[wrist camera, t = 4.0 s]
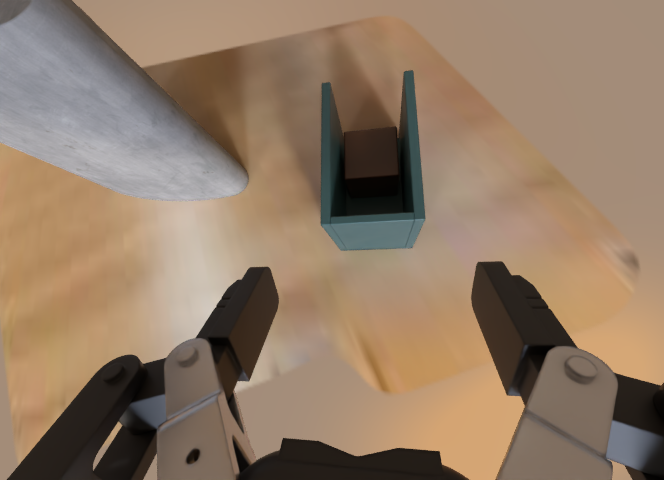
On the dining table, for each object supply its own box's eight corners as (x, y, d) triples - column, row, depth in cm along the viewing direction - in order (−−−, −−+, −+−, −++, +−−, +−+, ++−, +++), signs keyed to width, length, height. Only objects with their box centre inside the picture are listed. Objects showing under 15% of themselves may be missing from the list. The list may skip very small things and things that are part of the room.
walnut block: (397, 195, 24) (399, 174, 20) (350, 198, 25) (344, 179, 21) (394, 153, 25) (396, 125, 21) (350, 157, 26) (343, 131, 22)
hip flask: (250, 165, 28) (-39, -137, 9) (244, 204, 27) (-91, -38, 8) (117, 166, 31) (-309, -57, 12) (108, 201, 30) (-368, 21, 11)
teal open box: (412, 247, 23) (425, 219, 16) (340, 250, 24) (320, 225, 17) (405, 140, 26) (413, 69, 18) (339, 146, 27) (321, 82, 19)
